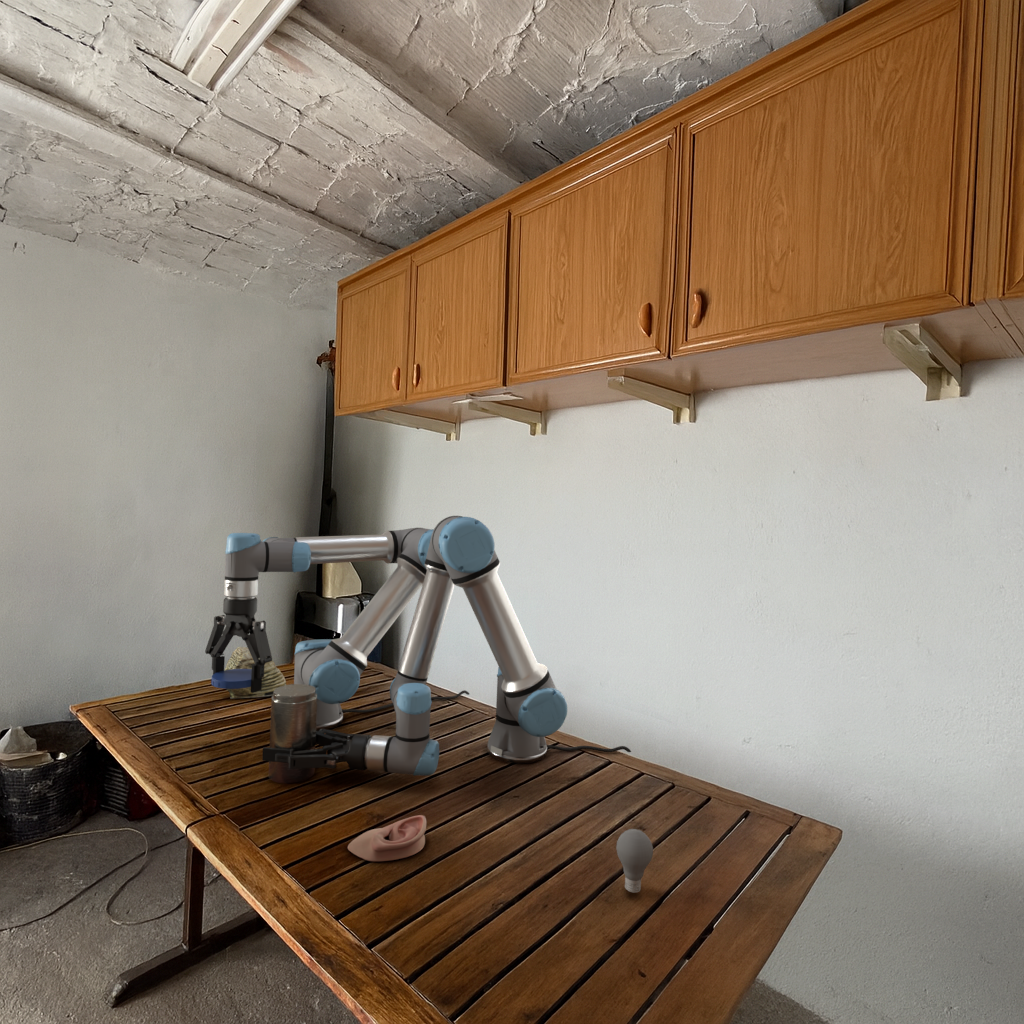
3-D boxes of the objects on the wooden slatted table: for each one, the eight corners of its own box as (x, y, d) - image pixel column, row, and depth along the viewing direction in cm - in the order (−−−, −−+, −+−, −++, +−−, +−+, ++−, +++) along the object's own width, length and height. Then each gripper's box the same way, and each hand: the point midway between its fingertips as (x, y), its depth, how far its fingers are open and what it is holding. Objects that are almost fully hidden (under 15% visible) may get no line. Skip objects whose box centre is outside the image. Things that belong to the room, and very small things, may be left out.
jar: (260, 773, 143) (263, 689, 143) (299, 760, 151) (302, 680, 151) (283, 787, 137) (287, 699, 137) (323, 773, 145) (326, 690, 144)
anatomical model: (340, 834, 112) (368, 804, 123) (339, 856, 112) (367, 824, 123) (411, 845, 109) (433, 813, 120) (410, 868, 109) (432, 834, 120)
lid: (261, 687, 150) (262, 680, 150) (209, 690, 146) (209, 682, 146) (261, 674, 160) (262, 667, 160) (212, 677, 156) (213, 669, 156)
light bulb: (610, 879, 108) (613, 822, 108) (644, 879, 109) (647, 822, 109) (619, 902, 102) (622, 840, 102) (655, 901, 103) (658, 840, 103)
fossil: (218, 695, 195) (220, 647, 195) (278, 685, 208) (279, 640, 207) (228, 703, 189) (230, 653, 188) (289, 692, 201) (290, 645, 201)
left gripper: (191, 594, 153) (187, 684, 154) (268, 604, 145) (264, 699, 145) (215, 590, 160) (212, 676, 161) (290, 600, 152) (286, 690, 152)
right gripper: (351, 792, 131) (248, 782, 133) (383, 749, 154) (295, 742, 156) (352, 756, 131) (250, 747, 133) (385, 719, 153) (296, 712, 156)
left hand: (236, 687), depth 153 cm, fingers closed on lid, 11 cm apart
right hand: (274, 744), depth 144 cm, fingers closed on jar, 10 cm apart
